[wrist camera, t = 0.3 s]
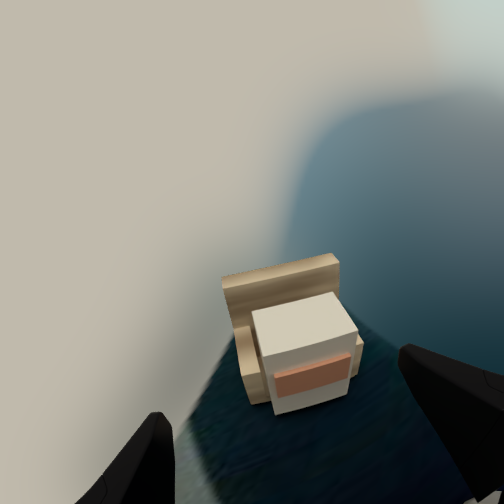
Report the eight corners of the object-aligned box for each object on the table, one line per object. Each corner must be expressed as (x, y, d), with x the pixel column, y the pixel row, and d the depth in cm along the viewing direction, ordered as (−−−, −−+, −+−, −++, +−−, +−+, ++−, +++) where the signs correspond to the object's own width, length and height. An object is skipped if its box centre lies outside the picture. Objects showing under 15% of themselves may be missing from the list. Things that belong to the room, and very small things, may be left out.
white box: (348, 397, 22) (360, 333, 18) (275, 418, 21) (264, 360, 17) (329, 358, 27) (332, 291, 22) (264, 375, 26) (251, 311, 22)
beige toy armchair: (356, 379, 25) (370, 299, 20) (252, 408, 24) (228, 335, 19) (328, 328, 32) (329, 250, 27) (241, 349, 31) (221, 274, 26)
